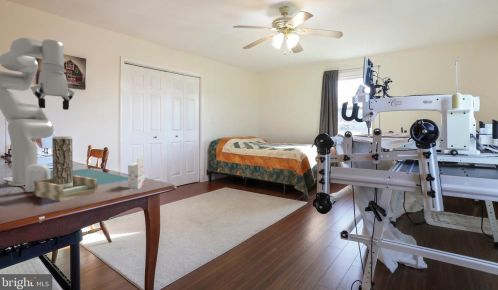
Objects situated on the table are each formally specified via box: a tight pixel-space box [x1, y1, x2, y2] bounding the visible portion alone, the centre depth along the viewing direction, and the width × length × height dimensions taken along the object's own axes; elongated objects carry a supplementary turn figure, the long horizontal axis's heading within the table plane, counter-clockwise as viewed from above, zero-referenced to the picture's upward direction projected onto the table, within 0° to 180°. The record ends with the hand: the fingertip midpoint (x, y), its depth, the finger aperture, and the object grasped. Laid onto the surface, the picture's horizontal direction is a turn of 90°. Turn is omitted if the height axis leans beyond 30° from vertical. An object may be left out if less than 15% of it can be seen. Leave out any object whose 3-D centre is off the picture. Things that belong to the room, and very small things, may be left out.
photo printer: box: [24, 163, 52, 193], centre depth 114 cm, size 10×4×12 cm, turn 81°
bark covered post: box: [51, 135, 74, 189], centre depth 110 cm, size 7×7×25 cm
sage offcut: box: [63, 185, 88, 195], centre depth 108 cm, size 3×10×2 cm, turn 159°
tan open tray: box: [33, 174, 99, 202], centre depth 109 cm, size 16×15×7 cm
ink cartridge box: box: [127, 157, 146, 190], centre depth 128 cm, size 9×5×15 cm, turn 0°
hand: (54, 108), depth 116 cm, fingers open, 9 cm apart
